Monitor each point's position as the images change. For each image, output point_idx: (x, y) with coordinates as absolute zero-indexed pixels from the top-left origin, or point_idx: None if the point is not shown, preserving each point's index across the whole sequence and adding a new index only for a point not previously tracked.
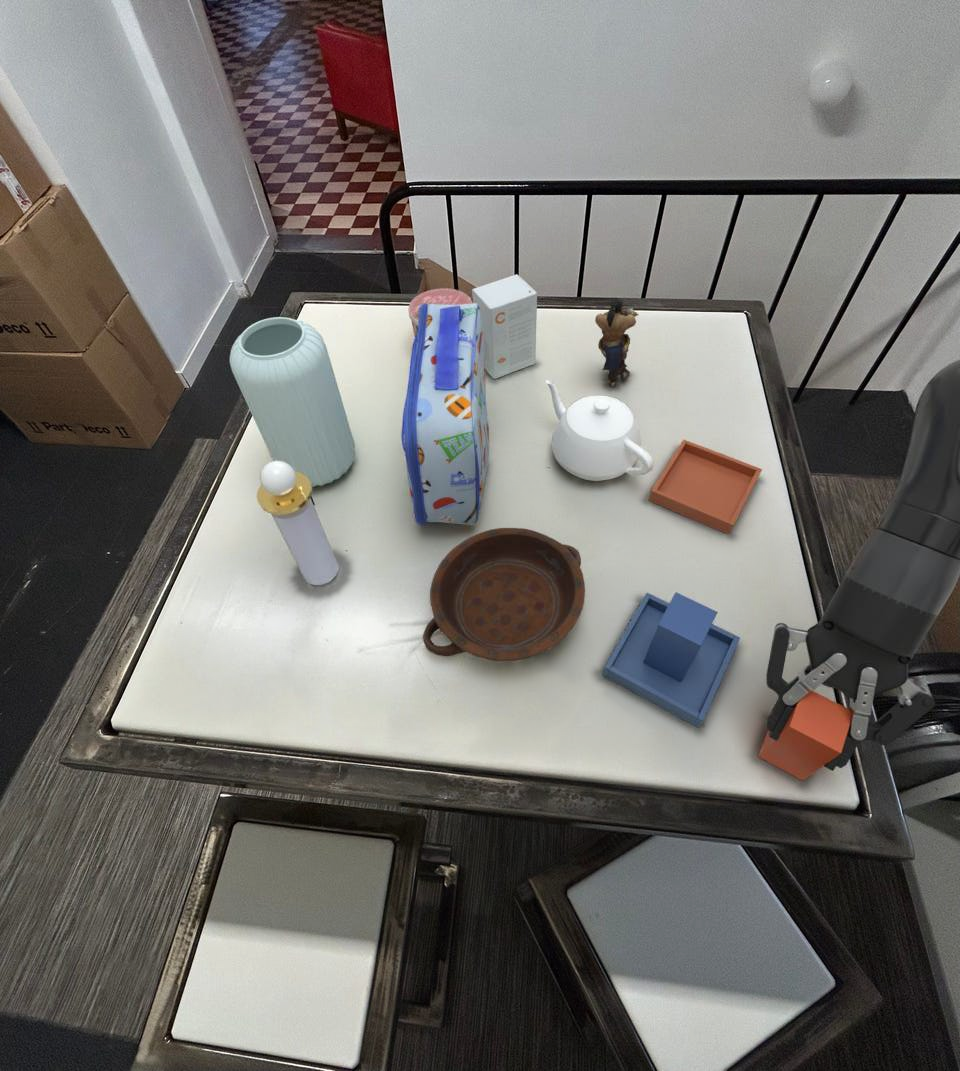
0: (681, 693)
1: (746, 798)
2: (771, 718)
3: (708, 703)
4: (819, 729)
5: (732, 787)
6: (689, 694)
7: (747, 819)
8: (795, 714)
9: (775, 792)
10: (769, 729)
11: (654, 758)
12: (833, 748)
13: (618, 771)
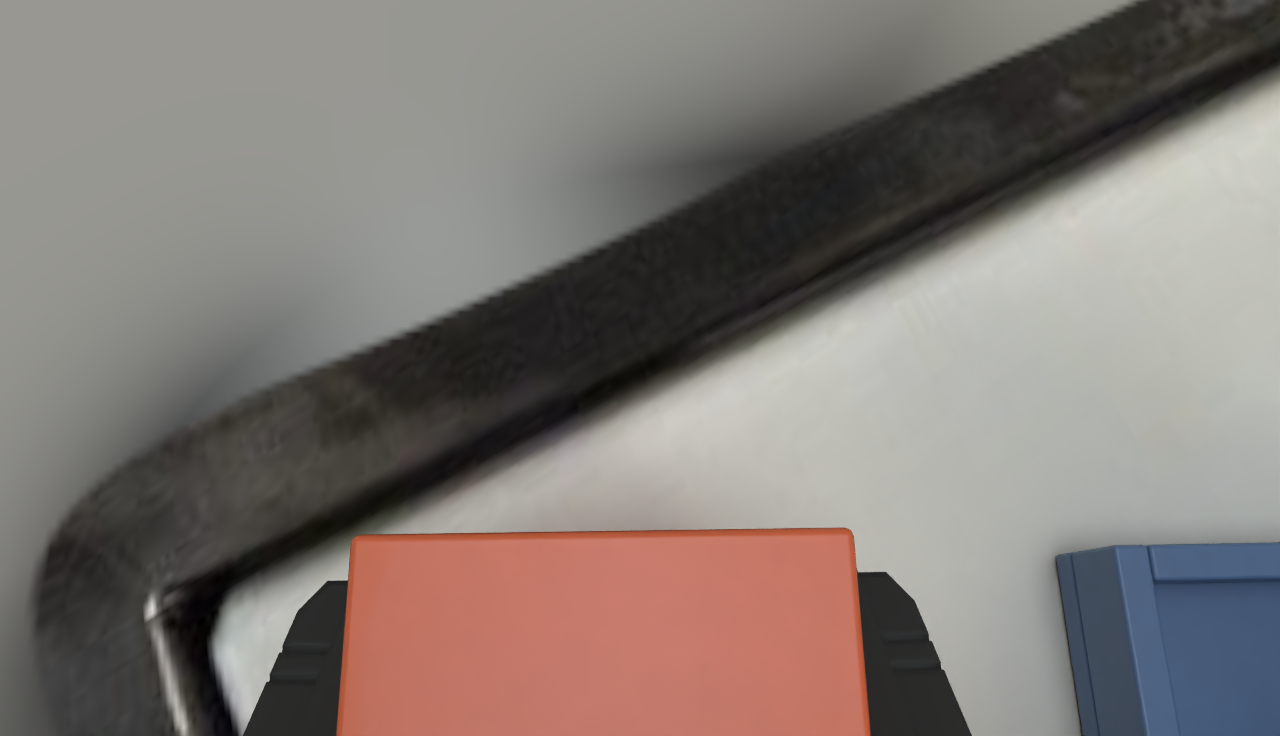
0: (1253, 684)
1: (702, 352)
2: (921, 641)
3: (1150, 672)
4: (596, 662)
5: (776, 364)
6: (1215, 706)
7: (664, 270)
8: (855, 688)
9: (594, 454)
10: (868, 579)
11: (1135, 291)
12: (426, 541)
13: (1223, 156)
